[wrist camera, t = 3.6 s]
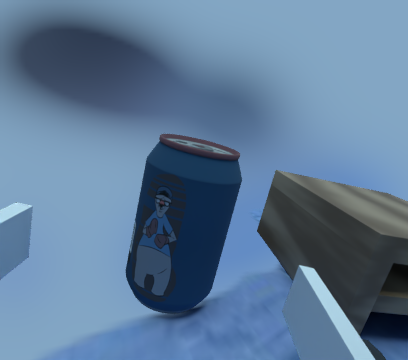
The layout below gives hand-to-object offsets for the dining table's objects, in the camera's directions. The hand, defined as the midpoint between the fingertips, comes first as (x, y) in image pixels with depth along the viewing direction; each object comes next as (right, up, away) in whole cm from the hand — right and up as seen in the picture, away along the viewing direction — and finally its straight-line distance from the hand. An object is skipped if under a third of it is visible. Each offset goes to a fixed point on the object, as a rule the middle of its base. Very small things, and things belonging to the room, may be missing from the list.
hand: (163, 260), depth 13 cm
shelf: (+19, -7, +18) cm, 27 cm away
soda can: (-1, -5, +9) cm, 10 cm away
